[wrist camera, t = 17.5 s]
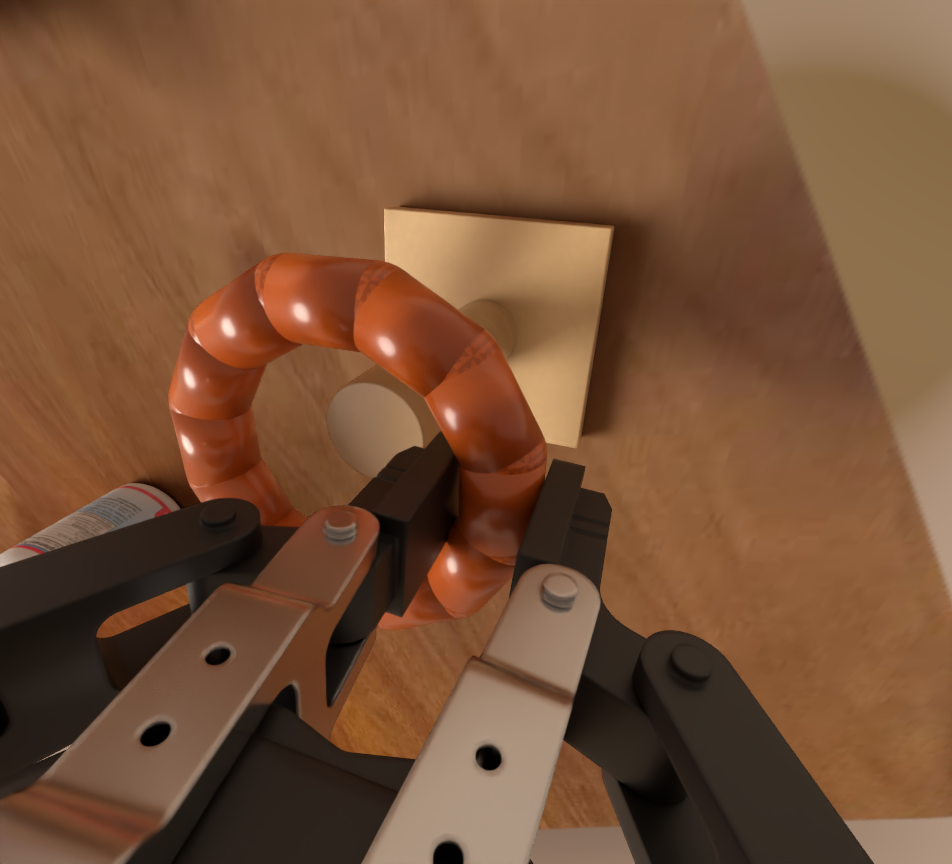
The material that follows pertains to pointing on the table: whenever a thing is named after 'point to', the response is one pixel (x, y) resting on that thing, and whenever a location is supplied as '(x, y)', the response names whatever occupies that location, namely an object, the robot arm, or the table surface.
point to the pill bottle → (96, 520)
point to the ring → (402, 355)
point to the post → (488, 322)
